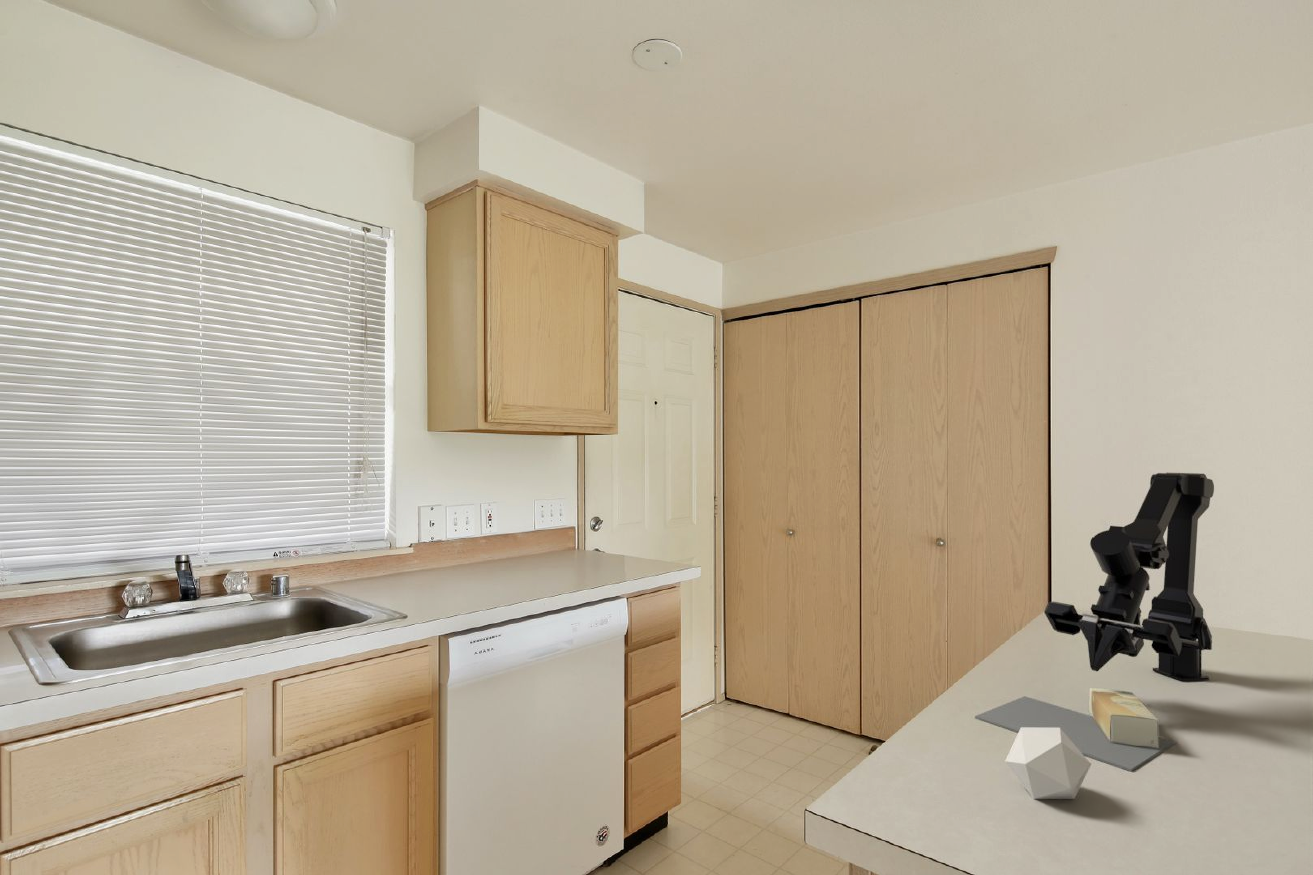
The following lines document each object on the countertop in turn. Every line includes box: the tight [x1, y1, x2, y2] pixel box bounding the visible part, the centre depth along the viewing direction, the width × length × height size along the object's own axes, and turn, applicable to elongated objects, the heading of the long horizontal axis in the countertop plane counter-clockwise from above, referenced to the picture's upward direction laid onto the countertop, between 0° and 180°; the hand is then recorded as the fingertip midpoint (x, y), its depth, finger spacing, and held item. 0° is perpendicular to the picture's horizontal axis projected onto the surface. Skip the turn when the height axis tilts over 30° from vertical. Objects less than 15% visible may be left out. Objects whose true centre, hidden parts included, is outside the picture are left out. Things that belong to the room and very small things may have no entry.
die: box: [1004, 727, 1092, 800], centre depth 86 cm, size 8×9×10 cm
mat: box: [974, 696, 1176, 772], centre depth 106 cm, size 16×22×1 cm
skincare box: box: [1088, 687, 1160, 748], centre depth 105 cm, size 6×4×12 cm
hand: (1093, 669), depth 110 cm, fingers closed
